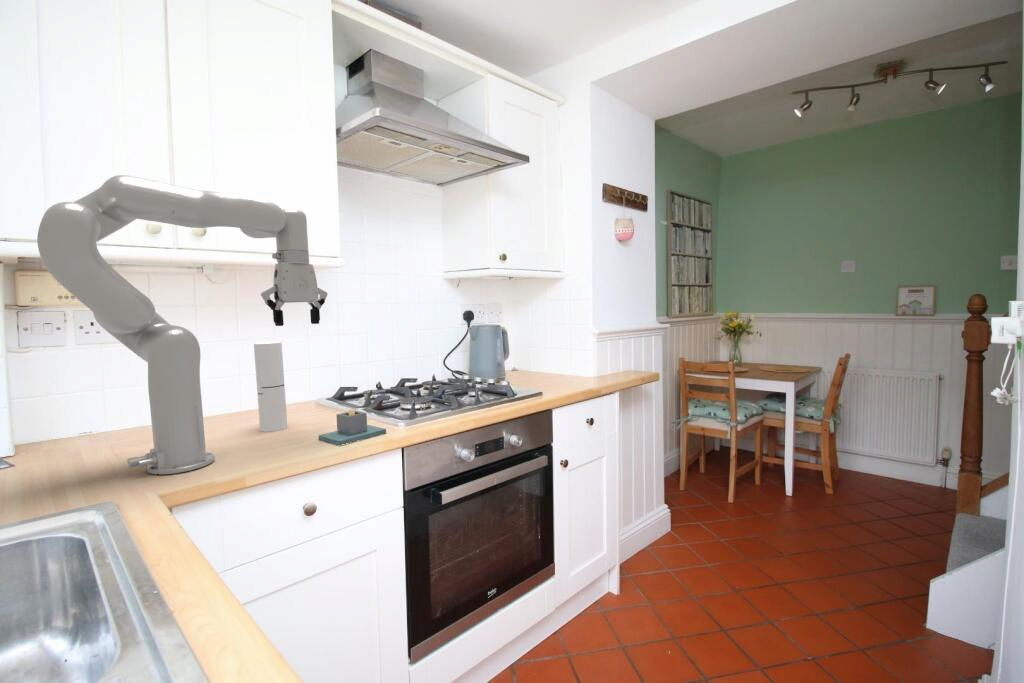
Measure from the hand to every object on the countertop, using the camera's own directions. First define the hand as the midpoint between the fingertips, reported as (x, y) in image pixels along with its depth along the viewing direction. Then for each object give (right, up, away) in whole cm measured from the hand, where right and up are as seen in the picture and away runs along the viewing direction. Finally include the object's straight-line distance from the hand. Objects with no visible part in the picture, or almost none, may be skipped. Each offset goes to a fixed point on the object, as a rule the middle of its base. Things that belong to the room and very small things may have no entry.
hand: (297, 324), depth 128 cm
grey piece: (-13, -30, +14) cm, 35 cm away
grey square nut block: (+14, -29, +2) cm, 32 cm away
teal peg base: (+14, -30, +2) cm, 33 cm away
